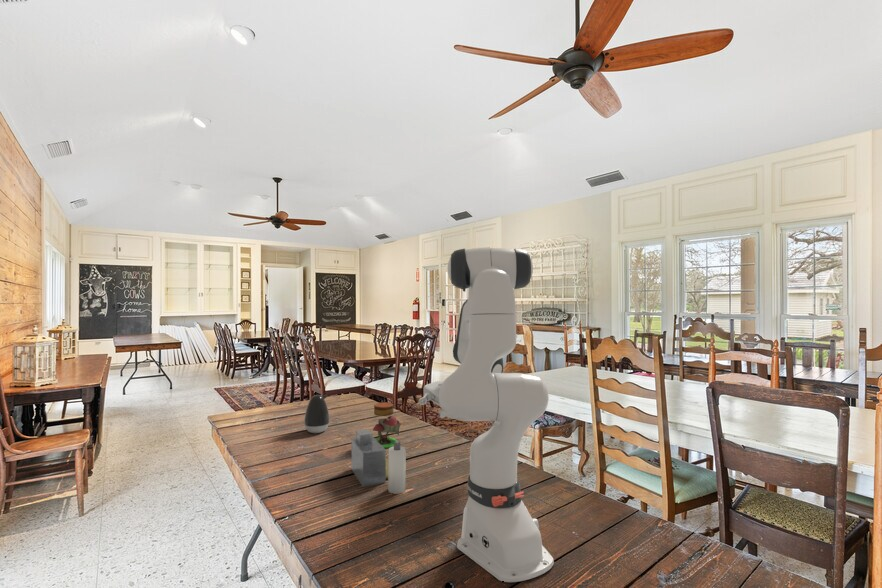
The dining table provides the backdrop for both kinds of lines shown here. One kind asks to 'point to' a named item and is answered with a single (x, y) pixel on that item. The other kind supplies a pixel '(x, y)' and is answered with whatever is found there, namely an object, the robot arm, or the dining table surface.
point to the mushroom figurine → (386, 424)
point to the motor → (368, 459)
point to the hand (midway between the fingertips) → (429, 408)
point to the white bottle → (396, 468)
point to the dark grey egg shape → (317, 415)
